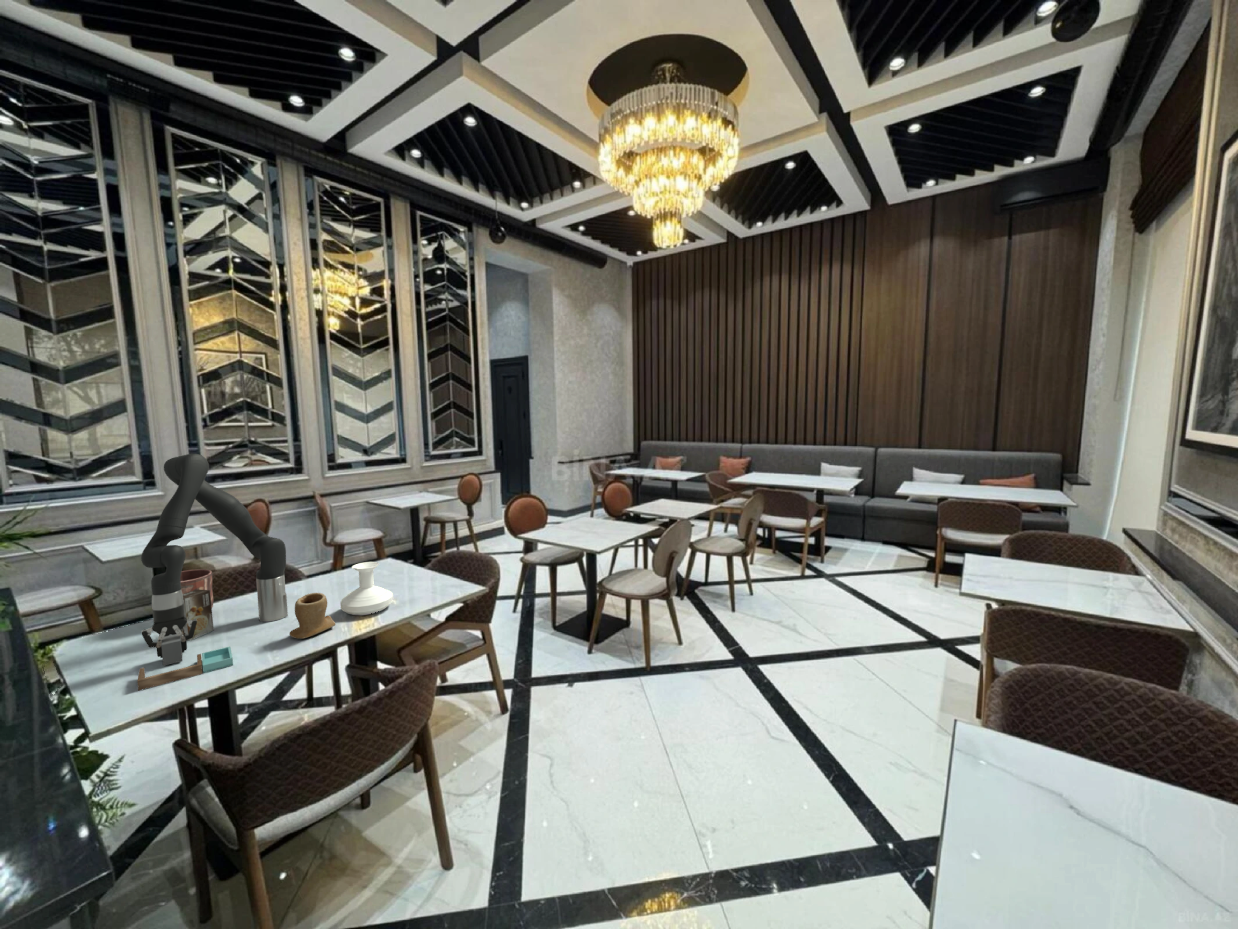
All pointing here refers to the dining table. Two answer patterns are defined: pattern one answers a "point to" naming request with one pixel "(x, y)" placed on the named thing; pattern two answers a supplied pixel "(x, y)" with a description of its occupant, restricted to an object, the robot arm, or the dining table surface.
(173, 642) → the chamfered grey block
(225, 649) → the teal tray
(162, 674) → the walnut bay
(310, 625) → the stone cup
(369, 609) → the white vase
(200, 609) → the coffee box
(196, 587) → the pottery
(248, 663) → the dining table surface
